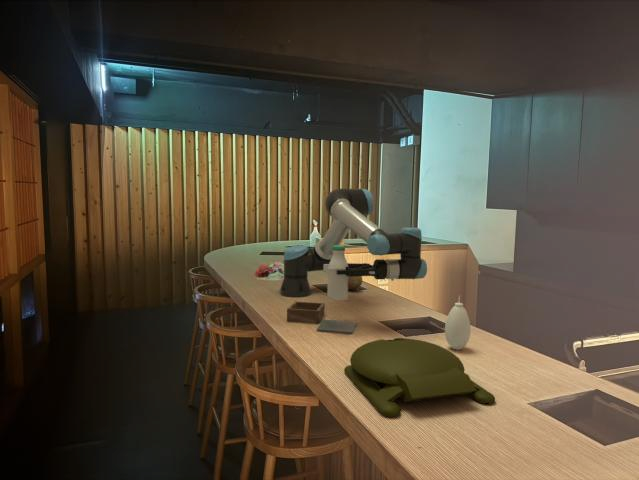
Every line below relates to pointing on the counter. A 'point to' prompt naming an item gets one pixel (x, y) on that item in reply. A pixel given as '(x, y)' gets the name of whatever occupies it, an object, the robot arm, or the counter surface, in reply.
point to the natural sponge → (354, 282)
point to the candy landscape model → (270, 272)
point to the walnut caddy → (306, 312)
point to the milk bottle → (338, 283)
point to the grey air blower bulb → (457, 327)
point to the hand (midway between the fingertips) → (325, 269)
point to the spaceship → (409, 373)
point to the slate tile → (337, 326)
